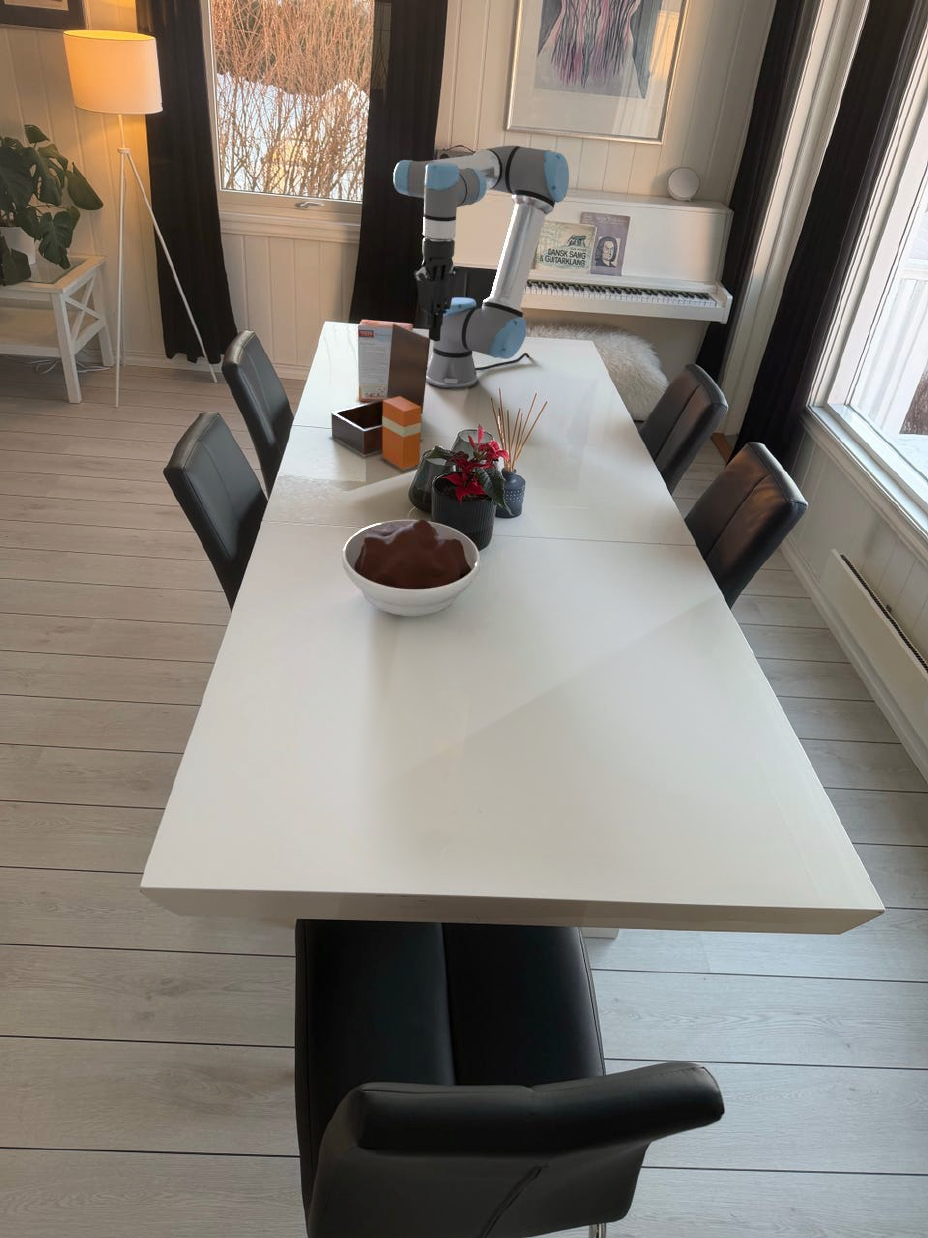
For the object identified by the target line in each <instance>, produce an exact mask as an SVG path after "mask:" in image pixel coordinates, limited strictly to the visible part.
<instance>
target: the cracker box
mask: <svg viewBox="0 0 928 1238" xmlns="http://www.w3.org/2000/svg"><path fill="white" fill-rule="evenodd" d="M393 323H396V324H398V325H400V326H403V327H405V328H407V329H409V330H412V331H414V330H413V328H414V324H413V323H405V322H394V321H382V320H381V321H380V320H369V319H361V321H360V323H359V324H358V325H357V355H358V356H357V363H358V365H357V366H358V367H357V369H358V371H357V375H358V401H359V402H368V403H370V402H376V401H380V400H384V399H390V398H388V397H387V389H388V377H389V365H390V352H391V340H392V328H393Z"/></svg>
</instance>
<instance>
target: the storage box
mask: <svg viewBox="0 0 928 1238" xmlns="http://www.w3.org/2000/svg"><path fill="white" fill-rule="evenodd" d="M384 400H386V399H384ZM330 416H331V436H332V437H334V438H335V439H337V440H338V441H340V442H342V443H344V444H345V445H347V446H348V447H350V448H352V449H354V450H355V451H357V452H359V453H360V454H361V455H364V456H366V455H368V454H371V453H376V452H378V451H383V425H382V416H383V400H380V401H371V402H368V403H364V404H360V405H356V406H352V407H349V408H344V409H340V410H336V411H333V412H331V415H330ZM421 432H422V431H421ZM421 432H420V435H421Z"/></svg>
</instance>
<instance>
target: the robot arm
mask: <svg viewBox="0 0 928 1238" xmlns="http://www.w3.org/2000/svg"><path fill="white" fill-rule="evenodd" d="M393 185H394V189H395V190H396V191H397V193H399V194H401V195H405V196H408V197H415V198H421V199H423V200H424V201H423V204H424V206H423V226H422V227H423V228H422V229H423V230H422V235H423V236H424V238H422V256H423V261H422V264H421V268H420V269H419V270H414V272H413V276H414V278H415V280H416V284H417V285H416V286H417V292H418V299H419V304H420V310H421V311H423V312H426V313H427V324H426V325H427V327H428V338H430V341H432V353H431V355H430V359H429V361H428V366H427V376H426V383H428V384H430V385H432V386H435V387H438V388H443V389H448V390H449V389H450V390H459V389H467V388H470V387H471V388H472V387H473V386H475V385H476V383H477V381H478V373H477V371H484V370H490V369H493V368H496V367H501V366H506V365H512V364H515V363H518V362H520V361H521V360H522V359H523V358H524V357H526V358H530V357H531V356H530V354H528V353H527V352H523V353H522V354H521V355H520V356H519V357H518V358H516V359H513V360H508V359H511V358H513V357H514V356H515V355H517V354H518V352H519V351H520V350H521V348H522V346H523V344H524V342H525V339H526V337H527V336H526V335H527V329H528V328H527V327H528V325H527V321H526V320H525V319H524V318H523V317H524V310H523V308H522V307H521V303H522V300H523V296H524V294H525V290H526V286H527V283H528V279H529V277H530V272H531V269H532V266H533V261H534V258H535V255H536V251H537V248H538V243H539V240H540V237H541V234H542V229H543V226H544V224H545V223H544V222H545V220H546V219H545V218H546V216H547V215H549V214H550V213H552V212H553V211H554V208H555V205H556V204H559V203H561V202H563V201H564V200H565V198H566V196H567V193H568V190H569V185H570V170H569V164H568V161H567V158H566V157H565V155H564V154H562V153H561V152H557V151H553V150H550V149H540V148H535V147H534V148H533V147H526V146H520V145H502V146H493V147H490V148H482V149H479V150H477V151H475V152H474V153H473V154H469V155H463V156H455V157H448V158H439V159H433V160H423V161H416V160H412V159H409V160H408V159H407V160H406V159H403V160H400V161H399V162H398V163H397V164H396V166H395V168H394V172H393ZM487 190H492V191H497V192H502V193H504V194H505V193H506V194H509V195H511V200H512V202H513V204H514V210H513V214H512V217H511V222H510V224H509V225H510V226H509V228H508V232H507V235H506V239H505V242H504V246H503V250H502V253H501V256H500V260H499V264H498V267H497V271H496V275H495V279H494V282H493V286H492V289H491V290H492V291H491V293H490V296H489V297H487V298H486V299H484V300H483V302H482V305H481V308H480V307H477V301H476V300H475V299H474V298H471V297H454V293H455V288H456V284H457V279H458V277H459V275H460V273H461V268H460V267H458V266H456V265H455V264H454V260H453V257H454V256H455V247H456V241H455V238H456V230H457V211H458V208H461V207H465V206H472V205H474V204H476V203H479V202H480V201H482V200H483V199H484V197H485V195H486V193H487ZM473 352H474V353H478V354H482V355H486V356H490V357H493V358H494V359H497V358H499V359H505V360H508V361H502V362H498V363H494V364H488V365H486V366H479V367H476V366H475V361H474V358H473Z"/></svg>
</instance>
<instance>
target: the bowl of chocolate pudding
mask: <svg viewBox="0 0 928 1238" xmlns="http://www.w3.org/2000/svg"><path fill="white" fill-rule="evenodd" d="M341 562H342V568H343V570H344V572H345V574H346V575H347V577H348V578H349V580H350V581H351V582H352V583H353V584H354V585H355V587H357V588H358V589H359V590H360V591H361V593H362V594H363V596H364V597H365V599H366V600H367V601H368V602H369V603H370V604H371V605H372V606H373V607H375V608H376V609H378V610H381V611H382V612H385V613H388V614H392V615H395V616H402V617H422V616H428V615H433V614H436V613H439V612H441V611H444V610H445V609H447V608H448V607H450V606H451V605H452V604H453V603H454V602H456V600H457V598H458V597H459V595H460V594H461V593H463V591H465V590H466V589H467V588H468V587H469V586H470V585H471V584H472V583H473V581H475V578H476V577H477V576H478V574H479V572H480V568H481V555H480V552H479V549H478V547H477V546H476V544H475V542H474V541H473V540H471V539H470V538H469V537H468V536H467V535H465V534H464V533H463V532H461V531H459V530H457V529H455V528H453V527H450V526H448V525H445V524H442V523H438V522H434V521H428V520H425V519H422V518H420V519H396V520H395V519H394V520H388V521H383V522H379V523H375V524H372V525H369V526H367V527H364V528H362V529H360V530H359V531H357V532H355V533H354V534H353V535H352V536H351V537H350V538H349V539H347V541H346V542H345V545H344V547H343V549H342V552H341Z"/></svg>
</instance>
